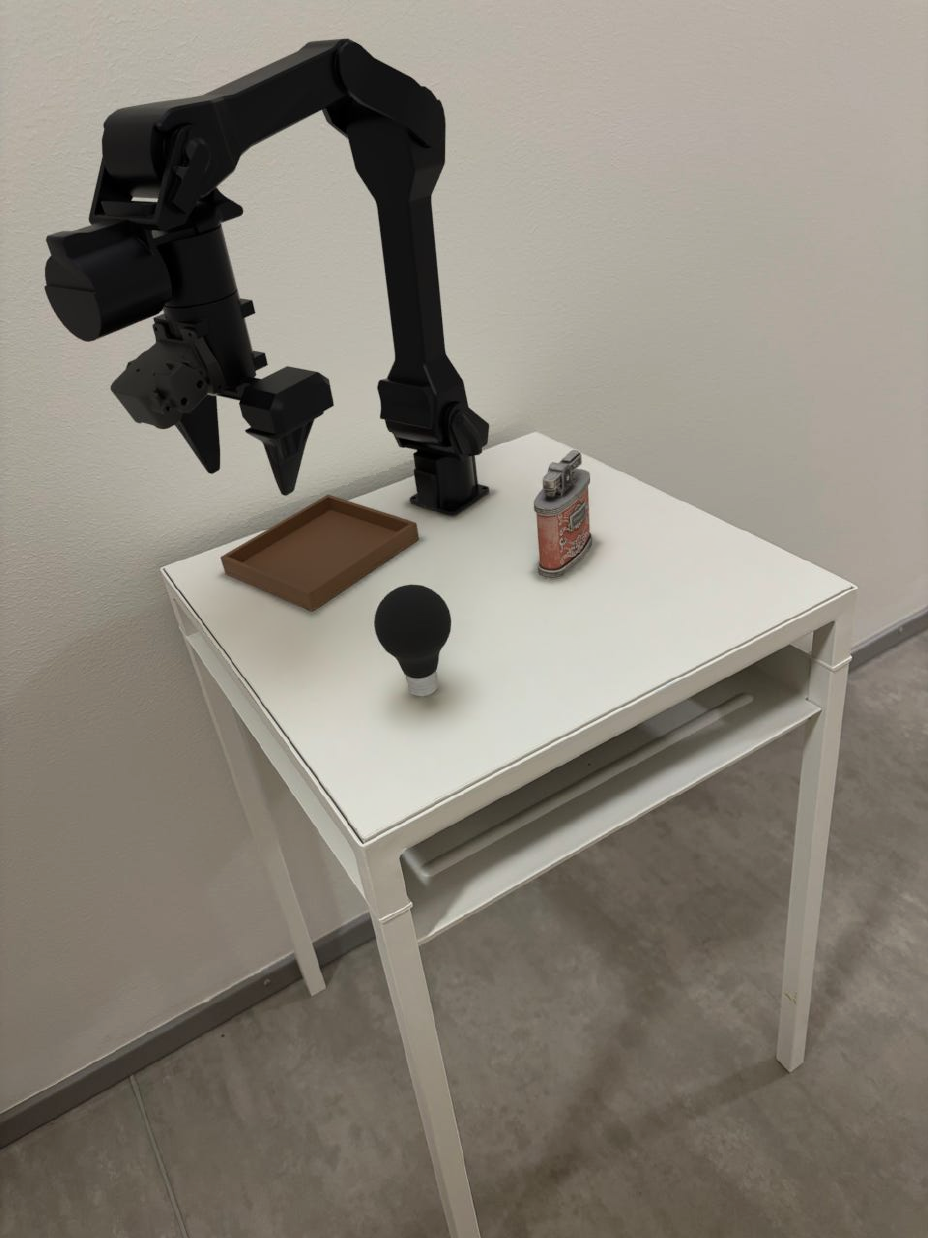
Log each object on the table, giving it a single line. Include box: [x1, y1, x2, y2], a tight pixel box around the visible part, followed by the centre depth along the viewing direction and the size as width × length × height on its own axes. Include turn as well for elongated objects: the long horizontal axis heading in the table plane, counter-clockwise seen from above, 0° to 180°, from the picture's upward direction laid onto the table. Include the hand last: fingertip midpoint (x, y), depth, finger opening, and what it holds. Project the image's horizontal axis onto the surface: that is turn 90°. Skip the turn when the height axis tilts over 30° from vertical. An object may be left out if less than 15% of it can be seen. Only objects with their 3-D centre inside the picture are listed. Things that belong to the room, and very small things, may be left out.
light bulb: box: [373, 584, 452, 697], centre depth 73 cm, size 6×6×10 cm
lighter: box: [533, 449, 593, 580], centre depth 88 cm, size 8×3×10 cm, turn 148°
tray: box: [220, 494, 420, 612], centre depth 96 cm, size 15×13×2 cm
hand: (250, 482), depth 80 cm, fingers open, 9 cm apart
